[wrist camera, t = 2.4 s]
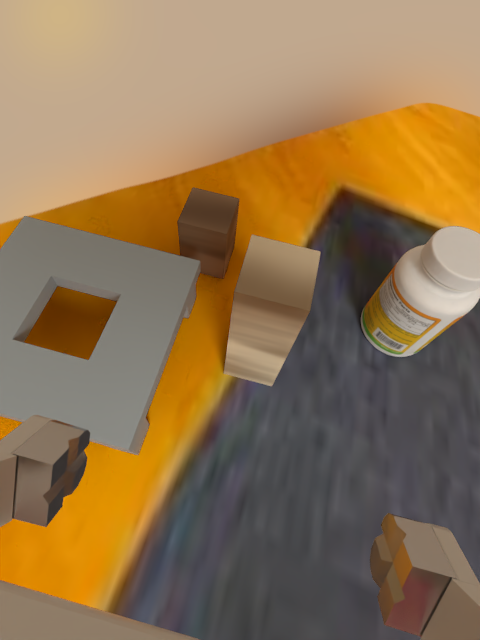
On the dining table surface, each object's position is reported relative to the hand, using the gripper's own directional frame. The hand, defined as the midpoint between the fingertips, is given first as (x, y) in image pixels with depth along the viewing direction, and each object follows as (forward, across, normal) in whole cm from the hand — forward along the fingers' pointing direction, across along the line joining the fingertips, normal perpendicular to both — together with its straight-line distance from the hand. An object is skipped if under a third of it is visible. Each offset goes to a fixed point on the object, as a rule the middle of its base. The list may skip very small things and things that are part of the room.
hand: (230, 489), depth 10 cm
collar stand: (+16, +12, +5) cm, 20 cm away
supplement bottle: (+22, -10, -1) cm, 24 cm away
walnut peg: (+23, +6, -2) cm, 24 cm away
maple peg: (+18, 0, +3) cm, 18 cm away
